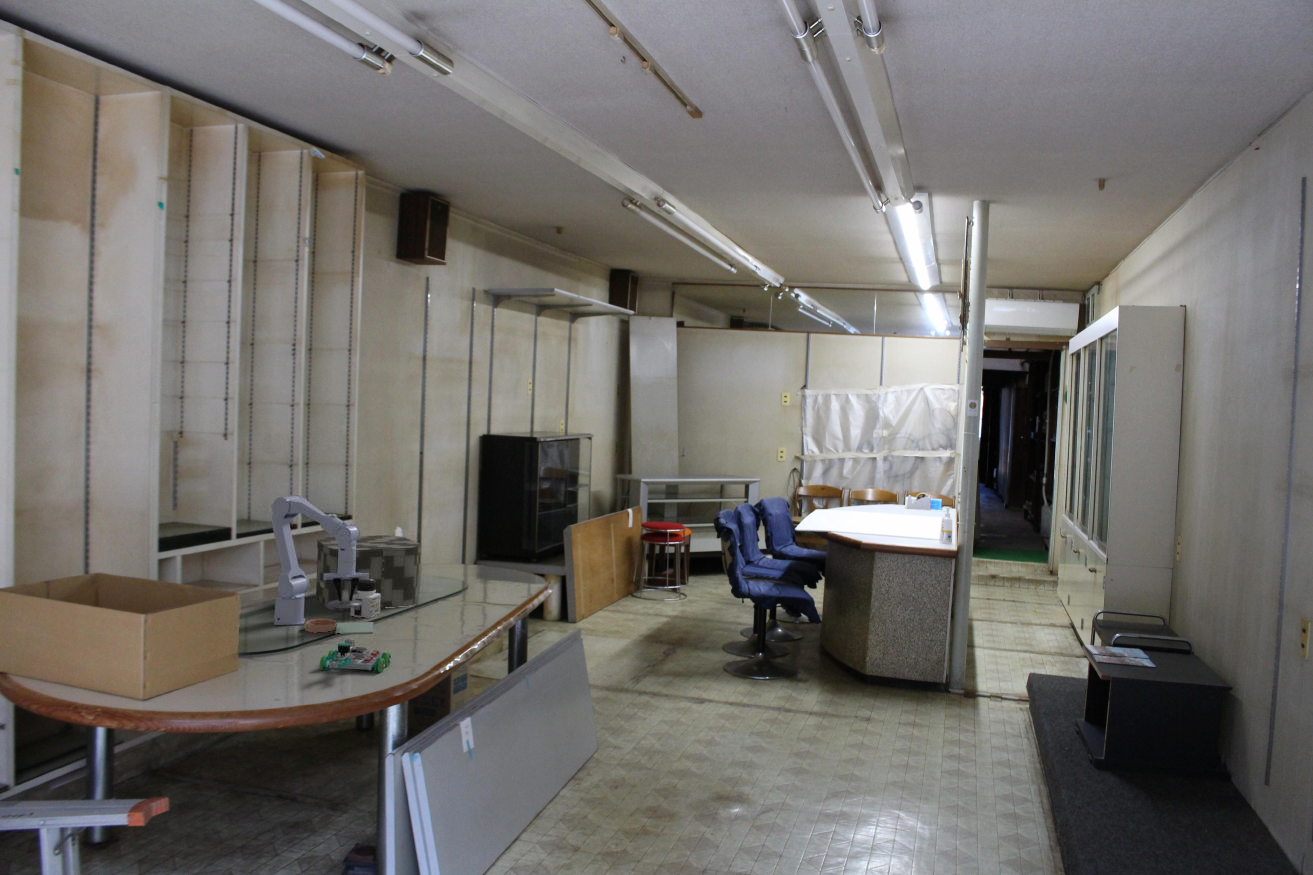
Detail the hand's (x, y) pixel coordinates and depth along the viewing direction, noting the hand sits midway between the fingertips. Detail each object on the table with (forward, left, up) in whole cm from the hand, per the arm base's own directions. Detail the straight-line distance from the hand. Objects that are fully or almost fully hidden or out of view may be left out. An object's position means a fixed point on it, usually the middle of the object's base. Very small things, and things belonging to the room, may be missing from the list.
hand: (345, 600), depth 307 cm
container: (+6, +20, -10) cm, 23 cm away
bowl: (-8, 0, -10) cm, 12 cm away
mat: (+3, 0, -10) cm, 10 cm away
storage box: (+6, +46, -10) cm, 48 cm away
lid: (0, 0, -2) cm, 2 cm away
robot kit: (+4, -51, -10) cm, 52 cm away
